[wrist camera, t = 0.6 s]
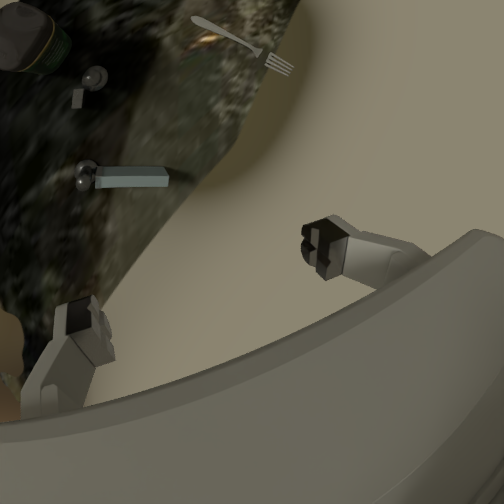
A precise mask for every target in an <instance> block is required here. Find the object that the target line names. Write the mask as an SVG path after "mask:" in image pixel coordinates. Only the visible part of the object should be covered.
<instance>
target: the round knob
mask: <svg viewBox="0 0 504 504" xmlns="http://www.w3.org/2000/svg"><path fill="white" fill-rule="evenodd" d="M96 171H97V164H96V163H95V162H94V161H92V160H89V159H86V160H82V161H81V162H79V163H78V165H77V166H76V168H75V177H76V179H77V181H76V187H77V189H78V190H80V191H86V190H88V189H89V187H90V183H92V182H94V181H95V176H96Z"/></svg>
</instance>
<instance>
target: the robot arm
mask: <svg viewBox="0 0 504 504" xmlns="http://www.w3.org/2000/svg"><path fill="white" fill-rule="evenodd" d="M301 235H302V236H303V237H304V239H303V241H302V243H301V252H302V255H303V258H304V260H305V261H306V262H307V263H308V264H309V265H311V266H314V267H316V272H317V273H318V274H319V275H320V276H321V277H322V278H323V279H324V280H325V281H327V280H329V279H332V278H334V277H337V276H339V275H341V274H342V275H343V276H346V277H348V278H350V279H353V280H355V281H358V282H360V283H362V284H365V285H367V286H370V287H372V288H374V289H377V290H376V291H374V292H372V293H370V294H369V295H367V296H365V297H363V298H361V299H360V300H358V301H356V302H354V303H352V304H350V305H348V306H346V307H344V308H343V309H341V310H339V311H337V312H335V313H333V314H331V315H329V316H327V317H325V318H323V319H321V320H319V321H317V322H315V323H313V324H311V325H309V326H307V327H305V328H302V329H301V330H298V331H296V332H294V333H292V334H290V335H288V336H285V337H283V338H281V339H279V340H277V341H274V342H272V343H270V344H268V345H265V346H263V347H261V348H259V349H256V350H254V351H251V352H249V353H246V354H244V355H242V356H239V357H237V358H234V359H232V360H229V361H227V362H225V363H222V364H219V365H217V366H214V367H212V368H209V369H206V370H203V371H201V372H198V373H195V374H192V375H190V376H187V377H184V378H182V379H179V380H175V381H173V382H170V383H167V384H163V385H160V386H158V387H154V388H151V389H148V390H145V391H142V392H138V393H135V394H132V395H128V396H125V397H121V398H118V399H114V400H110V401H107V402H103V403H99V404H95V405H91V406H87V407H83V405H84V402H85V398H86V395H87V392H88V389H89V386H90V383H91V381H92V378H93V375H94V372H95V369H96V368H95V367H98V366H101V365H104V364H107V363H110V362H113V361H115V354H114V348H113V345H112V343H111V342H110V339H111V337H112V332H111V328H110V325H109V322H108V319H107V317H106V315H105V313H104V312H103V311H101V310H99V303H98V301H97V300H96V298H95V296H93V295H90V296H87V297H84V298H81V299H78V300H74V301H71V302H69V303H65V304H62V305H60V306H57V308H56V310H55V320H54V332H53V340H52V341H50V342H49V343H48V345H47V347H46V348H45V350H44V351H43V353H42V355H41V356H40V358H39V360H38V361H37V363H36V365H35V367H34V368H33V370H32V372H31V374H30V375H29V377H28V379H27V381H26V383H25V384H24V386H23V388H22V390H21V420H16V421H9V422H1V423H0V504H504V239H503V238H502V237H500V236H497V235H495V234H492V233H489V232H486V231H483V230H478V229H473V230H471V231H469V232H467V233H466V234H465V235H463V236H462V237H460V238H459V239H458V240H456V241H455V242H453V243H452V244H450V245H449V246H447V247H446V248H444V249H443V250H441V251H440V252H438V253H437V254H435V255H434V256H432V257H431V256H430V255H428V254H427V253H426V252H424V251H423V250H422V249H420V248H419V247H418V246H416V245H415V244H413V243H410V242H406V241H402V240H398V239H394V238H390V237H386V236H382V235H378V234H374V233H369V232H366V231H362V232H360V231H359V230H357V229H356V228H355V227H353V226H352V225H350V224H349V223H347V222H346V221H345V220H343V219H342V218H340V217H339V216H337V215H331V216H328V217H325V218H323V219H320V220H317V221H314V222H311V223H308V224H305V225H303V227H302V231H301Z"/></svg>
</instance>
